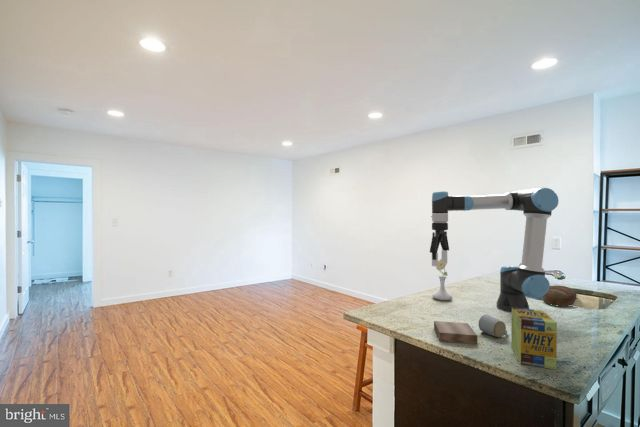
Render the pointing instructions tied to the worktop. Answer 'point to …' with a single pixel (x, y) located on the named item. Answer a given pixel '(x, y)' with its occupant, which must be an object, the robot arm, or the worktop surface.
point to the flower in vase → (442, 284)
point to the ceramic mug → (492, 326)
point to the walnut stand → (455, 332)
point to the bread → (560, 296)
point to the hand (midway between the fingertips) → (439, 264)
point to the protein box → (534, 337)
